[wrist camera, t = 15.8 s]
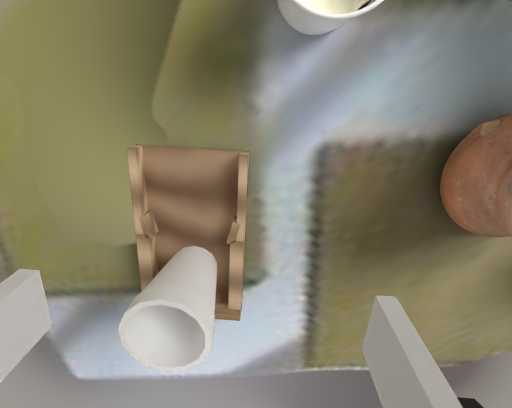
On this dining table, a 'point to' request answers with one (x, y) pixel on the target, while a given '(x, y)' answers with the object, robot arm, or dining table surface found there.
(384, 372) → the robot arm
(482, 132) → the ceramic jug
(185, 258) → the foam cup
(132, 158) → the track
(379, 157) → the dining table surface
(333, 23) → the candle holder
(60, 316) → the dining table surface
